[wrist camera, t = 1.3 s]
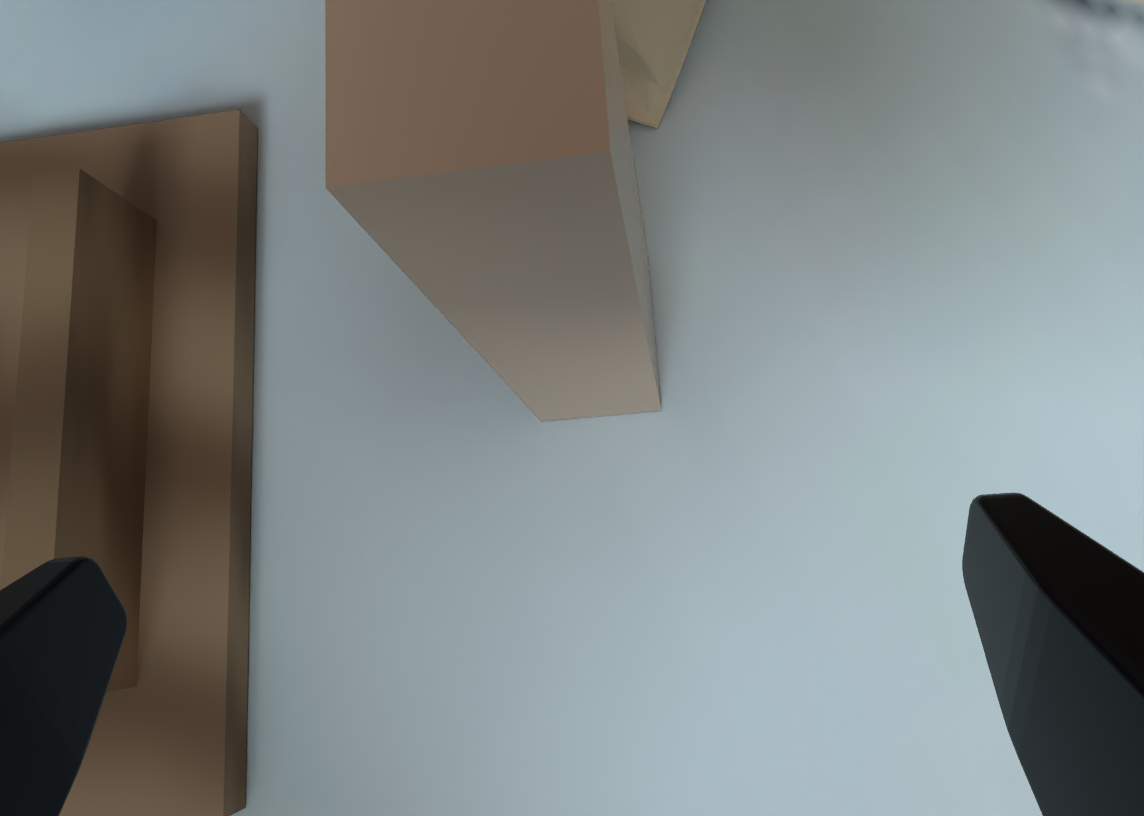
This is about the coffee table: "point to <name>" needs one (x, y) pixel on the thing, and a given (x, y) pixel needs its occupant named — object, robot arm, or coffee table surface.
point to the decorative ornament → (652, 51)
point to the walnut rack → (139, 432)
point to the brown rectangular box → (502, 185)
